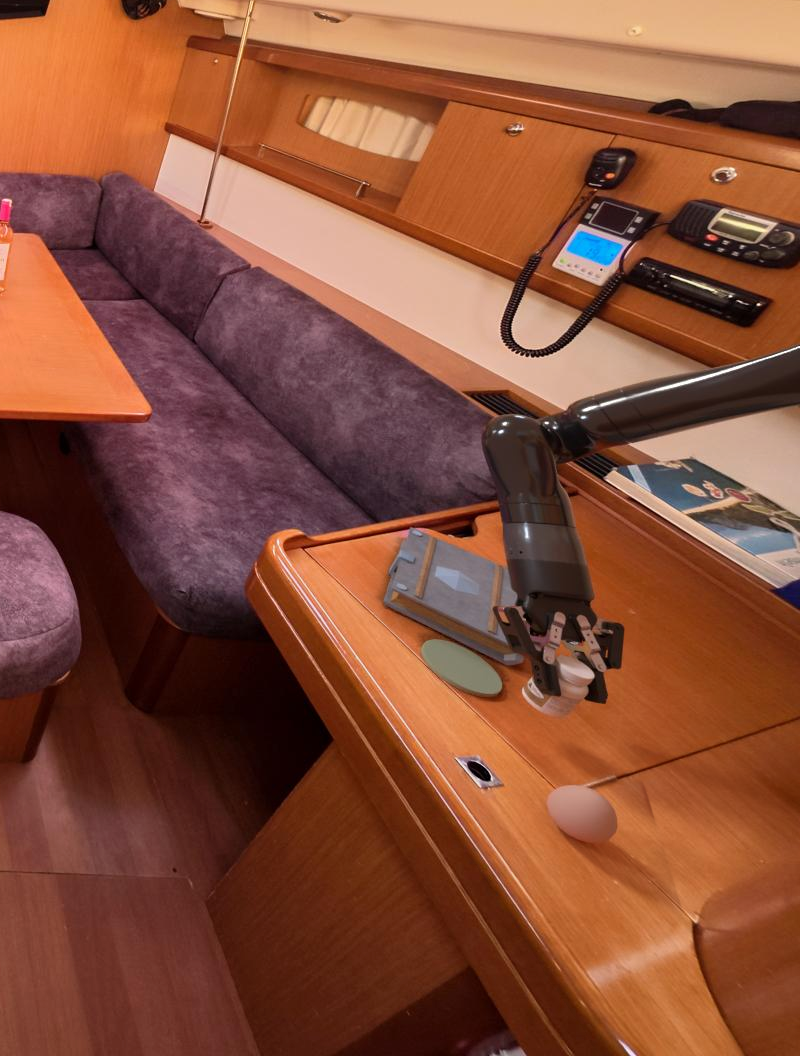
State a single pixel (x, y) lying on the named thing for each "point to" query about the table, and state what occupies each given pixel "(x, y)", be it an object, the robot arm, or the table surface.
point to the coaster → (461, 668)
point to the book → (452, 593)
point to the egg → (582, 813)
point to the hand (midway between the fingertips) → (572, 697)
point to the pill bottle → (562, 688)
